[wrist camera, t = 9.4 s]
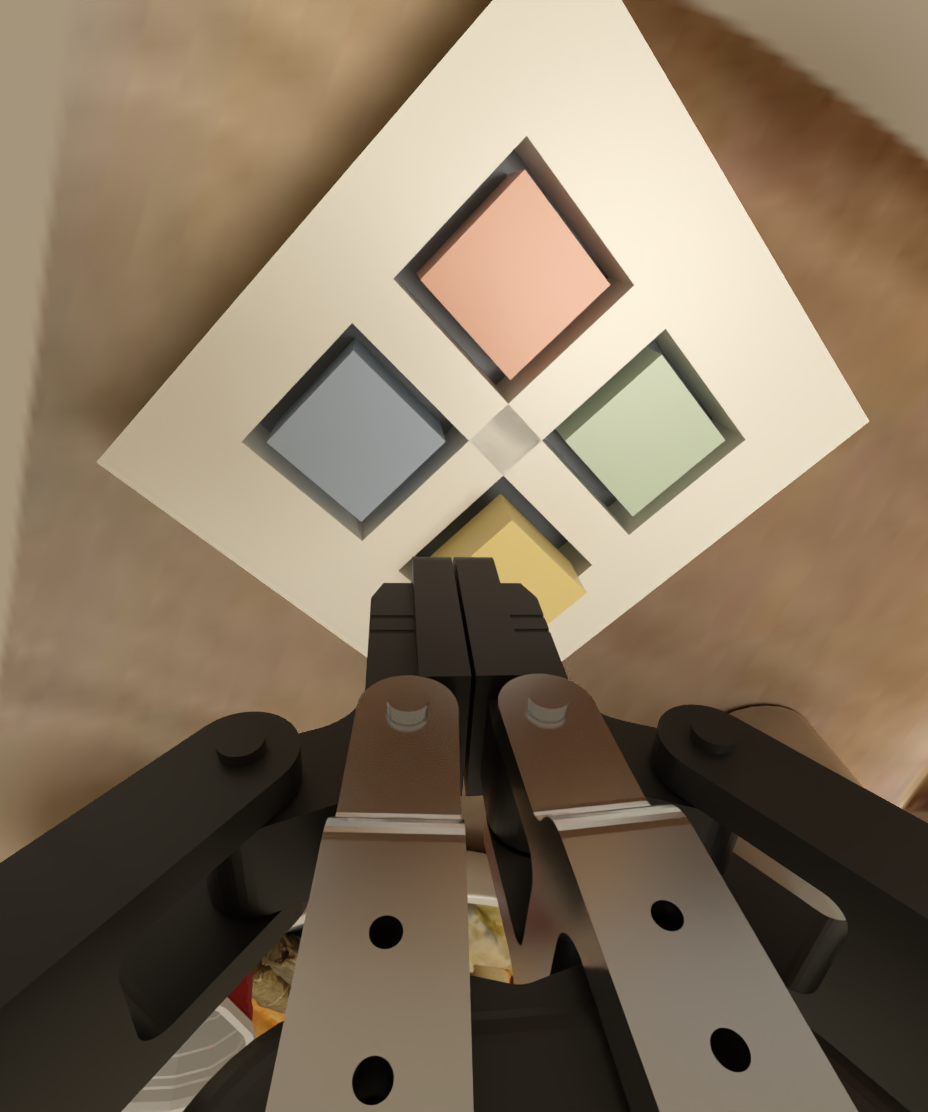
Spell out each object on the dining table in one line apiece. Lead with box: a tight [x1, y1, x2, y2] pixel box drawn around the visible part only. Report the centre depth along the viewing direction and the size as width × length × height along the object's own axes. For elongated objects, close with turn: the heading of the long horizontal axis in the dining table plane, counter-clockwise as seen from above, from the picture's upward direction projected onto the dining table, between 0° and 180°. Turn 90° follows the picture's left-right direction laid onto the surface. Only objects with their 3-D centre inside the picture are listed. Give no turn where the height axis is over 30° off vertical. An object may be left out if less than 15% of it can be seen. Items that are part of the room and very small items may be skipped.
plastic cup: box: [122, 972, 256, 1112], centre depth 31 cm, size 11×11×12 cm
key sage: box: [555, 347, 725, 516], centre depth 25 cm, size 4×4×2 cm
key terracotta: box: [417, 169, 610, 380], centre depth 21 cm, size 4×4×2 cm
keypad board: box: [96, 0, 869, 662], centre depth 25 cm, size 19×21×4 cm
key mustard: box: [430, 493, 587, 625], centre depth 25 cm, size 4×4×2 cm
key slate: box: [266, 338, 446, 522], centre depth 23 cm, size 4×4×2 cm
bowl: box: [251, 850, 514, 1038], centre depth 42 cm, size 30×30×8 cm
